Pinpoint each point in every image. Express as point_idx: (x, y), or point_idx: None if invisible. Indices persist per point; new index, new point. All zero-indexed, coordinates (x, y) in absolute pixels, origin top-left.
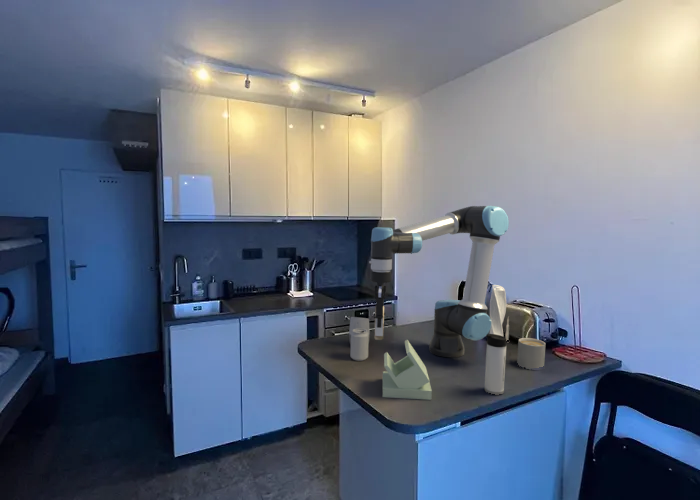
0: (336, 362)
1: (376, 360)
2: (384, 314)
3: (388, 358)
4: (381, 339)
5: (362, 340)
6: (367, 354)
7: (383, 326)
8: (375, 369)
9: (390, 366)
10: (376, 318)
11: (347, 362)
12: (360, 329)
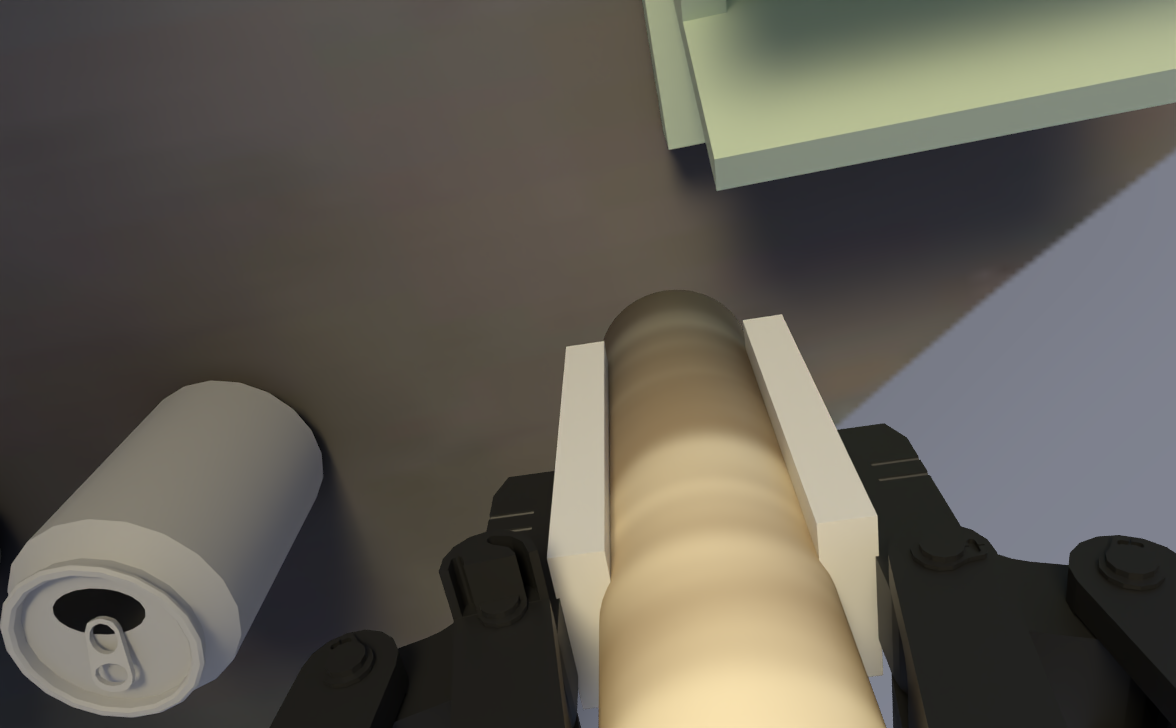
0: (431, 586)
1: (213, 287)
2: (537, 556)
3: (890, 97)
4: (726, 310)
5: (226, 536)
6: (221, 398)
7: (702, 395)
8: (446, 248)
9: (1085, 23)
10: (877, 651)
11: (391, 511)
12: (27, 649)
